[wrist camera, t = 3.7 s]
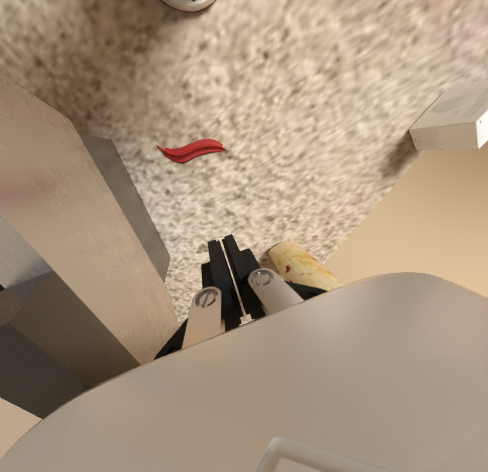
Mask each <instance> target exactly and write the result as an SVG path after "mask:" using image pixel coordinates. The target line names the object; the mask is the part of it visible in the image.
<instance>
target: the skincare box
mask: <svg viewBox="0 0 488 472" xmlns="http://www.w3.org/2000/svg"><path fill="white" fill-rule="evenodd" d="M409 132H410V135H411V138H412V140H413V143H414V146H415V148H416V150H439V149H440V150H442V149H479V148H480V147H481V146H482V145H483V144H484V143H485V142H486V141H487V140H488V78H487V79H483V80H480V81H475V82H472V83H468V84H464V85H460V86H455V87H451V88H447V89H446V90H445V91H444V92H443V93H442V94H441V95H440V96H439V97H438V99H437V100H436V101H435V102H434V103H433V104H432V105H431V106H430V107H429V108H428V109H427V110H426V111H425V112H424V114H423V115H422V116H421V117H420V118H419V119H418V120H417V121H416V122H415V123H414V124H413V125H412V126H411V128H410V129H409Z"/></svg>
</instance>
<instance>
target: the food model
mask: <svg viewBox="0 0 488 472" xmlns="http://www.w3.org/2000/svg"><path fill="white" fill-rule="evenodd" d="M269 256H270V258H271V259H272V261H273V262H274V264H275V266H276V268H277V269H278V271H279V272H280V274H281V275H282V276H283V278H284V279H285V280H286V281H288V282H293V283H298V284H302V285H307V286H312V287H317V288H321V289H324V290H327V291H331V289H332V288H337V287H341V286H344V285H345V284H344V283H343V282H341V281H340V280H339V279H338V278H336V277H335V276H334V275H333V274H332V273H331V272H330V271H329V270H327V269H326V268H325V267H324V266H323V265H322V264H321V263H319V262H318V261H317V260H316V259H315V258H313V257H312V256H311V255H310V254H308V253H307V252H306V251H305V250H303V249H302V248H301V247H299V246H298V245H296V244H294V243H292V242H281V243H279V244H277V245H276V246H274V247H273V248H271V249H270V251H269Z"/></svg>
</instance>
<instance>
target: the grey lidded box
mask: <svg viewBox="0 0 488 472" xmlns="http://www.w3.org/2000/svg"><path fill="white" fill-rule="evenodd" d="M78 135H79V136H80V138H81V140H82V142H83V143H84V145H85V147H86V149H87V150H88V152H89V154H90V156H91V157H92V159H93V161H94V163H95V164H96V166H97V168H98V170H99V171H100V173H101V175H102V177H103V178H104V180H105V182H106V183H107V185H108V187H109V189H110V190H111V192H112V194H113V196H114V197H115V199H116V201H117V203H118V204H119V206H120V208H121V210H122V211H123V213H124V215H125V217H126V218H127V220H128V222H129V224H130V225H131V227H132V229H133V231H134V232H135V234H136V236H137V238H138V239H139V241H140V243H141V245H142V246H143V248H144V250H145V251H146V253H147V255H148V257H149V258H150V260H151V262H152V264H153V265H154V267H155V269H156V271H157V272H158V274H159V276H160V278H161V279H162V281H163V283H164V282H165V278H166V274H167V269H168V265H169V261H170V255H169V253H168V251H167V249H166V247H165V245H164V243H163V241H162V239H161V237H160V235H159V233H158V231H157V229H156V227H155V225H154V224H153V222H152V220H151V218H150V216H149V214H148V212H147V210H146V208H145V206H144V204H143V202H142V200H141V198H140V196H139V194H138V192H137V190H136V188H135V186H134V184H133V182H132V180H131V178H130V176H129V174H128V172H127V170H126V168H125V166H124V164H123V162H122V160H121V158H120V156H119V154H118V152H117V150H116V148H115V146H114V144H113V142H112V140H108V139H103V138H97V137H92V136H87V135H81V134H78ZM4 289H5V288H4V287H3V286H2V285H1V284H0V292H2V291H3V290H4Z"/></svg>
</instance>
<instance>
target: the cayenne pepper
mask: <svg viewBox="0 0 488 472" xmlns="http://www.w3.org/2000/svg"><path fill="white" fill-rule="evenodd" d="M222 146H223V145H222V144H221V143H220V142H218V141H216V140H212V139H203V140H199V141H196V142H193V143H191V144H189V145H187V146H184V147H181V148H177V149H169V148H165V149H162V148H160V147H159V146H158V147H159V148H160V149H161V150H162V151H163V152H164V153H165V154H164V155H165V156H166V157H168V158H169V159H171V160H173V161H176V162H186V161H188V160H190V159H192V158H194V157H196V156H198V155H201V154H205V153H210V152H219V151H221V152H222V149H224V148H223V147H222ZM224 150H225V149H224Z"/></svg>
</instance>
